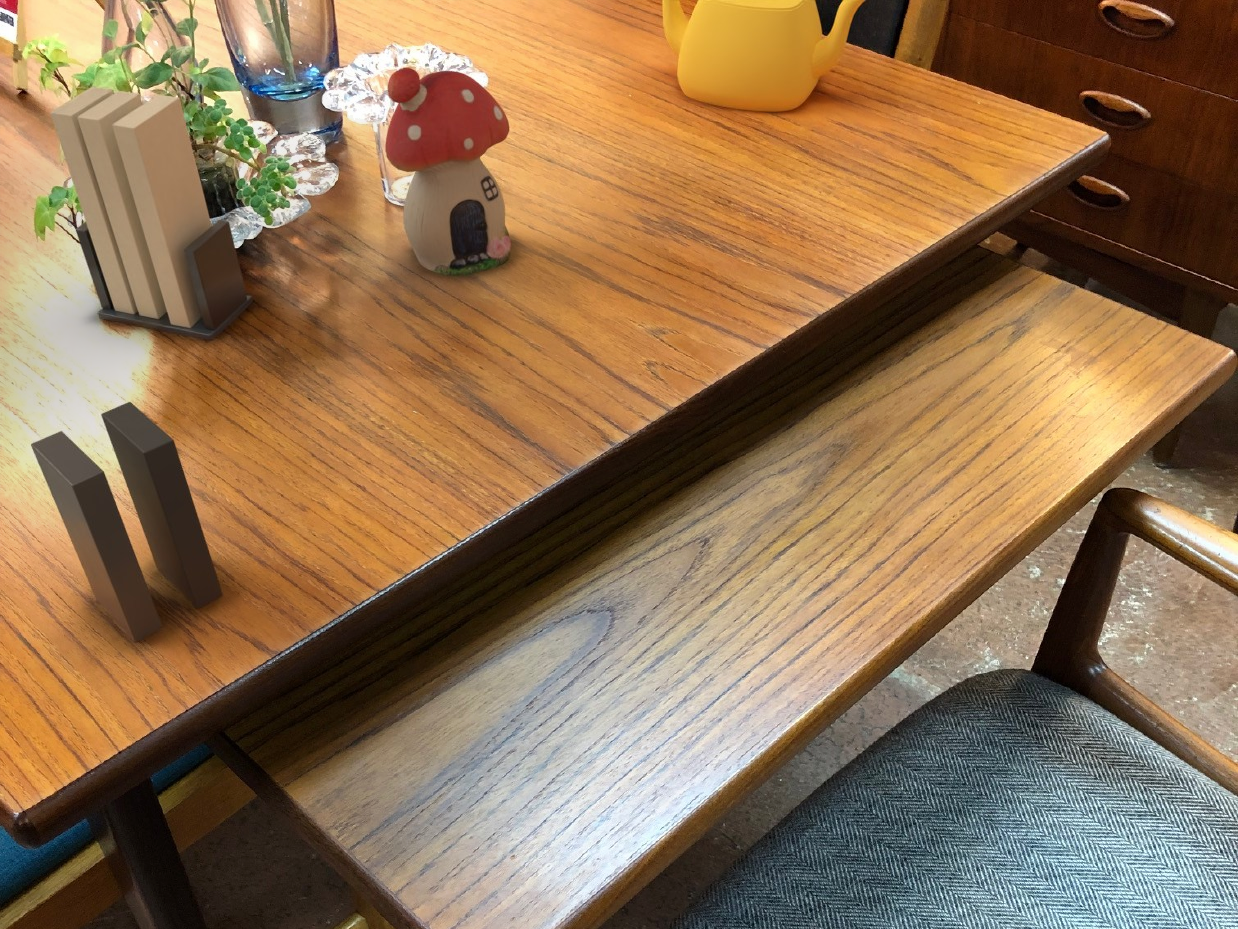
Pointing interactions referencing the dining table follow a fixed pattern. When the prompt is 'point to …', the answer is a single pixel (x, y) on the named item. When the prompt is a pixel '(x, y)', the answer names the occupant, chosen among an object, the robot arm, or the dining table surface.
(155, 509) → the pair of brown blocks
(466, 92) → the decorative ornament
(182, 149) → the white book
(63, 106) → the shelved white books
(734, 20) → the teapot
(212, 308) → the book rack
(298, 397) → the dining table surface
